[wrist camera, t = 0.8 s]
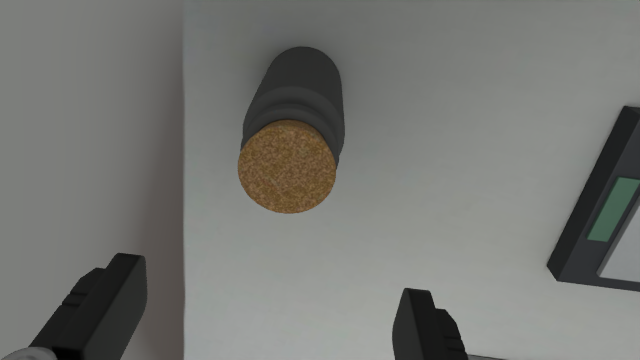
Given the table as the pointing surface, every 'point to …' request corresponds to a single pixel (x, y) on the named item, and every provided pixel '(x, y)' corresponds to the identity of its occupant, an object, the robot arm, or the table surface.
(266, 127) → the bottle
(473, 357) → the planter
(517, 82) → the table surface
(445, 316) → the robot arm
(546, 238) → the table surface
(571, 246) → the scale
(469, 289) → the table surface
